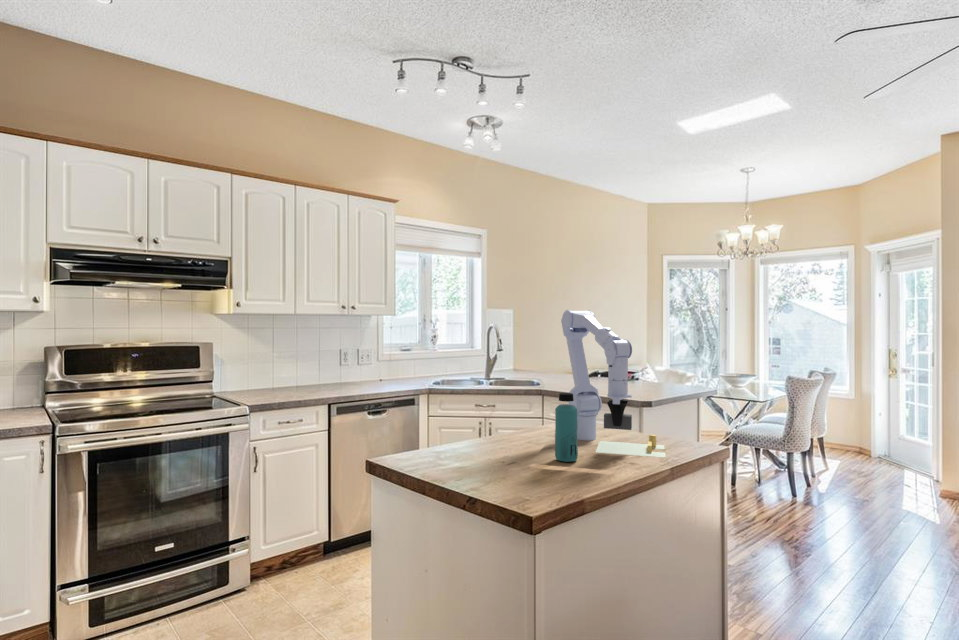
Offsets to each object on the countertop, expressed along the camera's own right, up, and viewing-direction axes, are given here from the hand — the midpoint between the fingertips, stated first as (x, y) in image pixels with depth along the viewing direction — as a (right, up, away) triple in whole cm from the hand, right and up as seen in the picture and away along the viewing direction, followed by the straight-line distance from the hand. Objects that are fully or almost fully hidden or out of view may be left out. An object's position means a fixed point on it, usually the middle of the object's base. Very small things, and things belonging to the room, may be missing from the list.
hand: (617, 424), depth 168 cm
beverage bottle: (-17, -9, -12) cm, 23 cm away
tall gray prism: (0, -1, 0) cm, 1 cm away
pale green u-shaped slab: (+5, -9, +3) cm, 10 cm away
